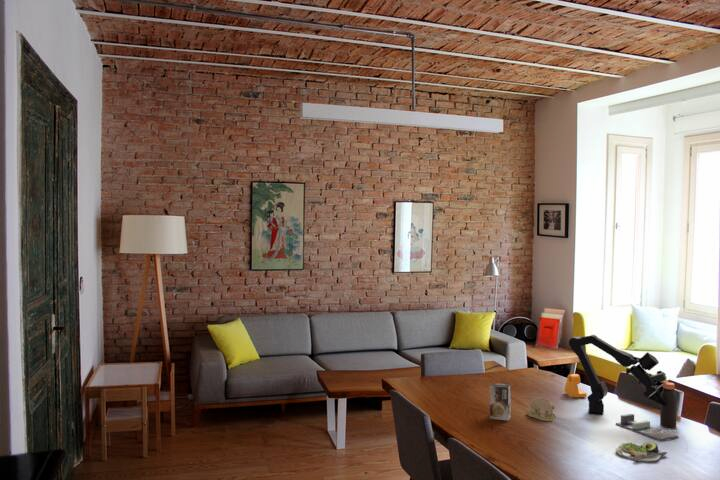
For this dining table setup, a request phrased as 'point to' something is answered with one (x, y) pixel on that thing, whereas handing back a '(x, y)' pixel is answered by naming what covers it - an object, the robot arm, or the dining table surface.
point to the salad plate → (641, 451)
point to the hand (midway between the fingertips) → (667, 403)
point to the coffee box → (500, 401)
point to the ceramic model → (541, 409)
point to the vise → (652, 432)
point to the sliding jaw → (636, 425)
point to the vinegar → (668, 406)
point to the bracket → (574, 386)
